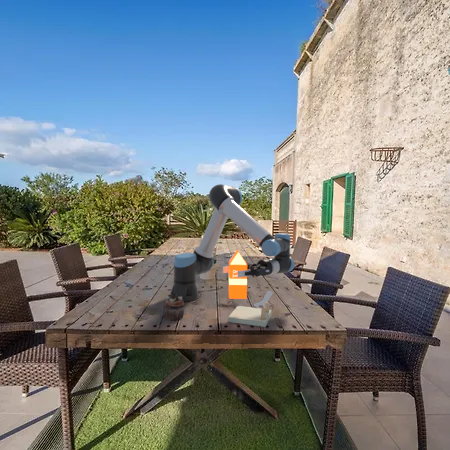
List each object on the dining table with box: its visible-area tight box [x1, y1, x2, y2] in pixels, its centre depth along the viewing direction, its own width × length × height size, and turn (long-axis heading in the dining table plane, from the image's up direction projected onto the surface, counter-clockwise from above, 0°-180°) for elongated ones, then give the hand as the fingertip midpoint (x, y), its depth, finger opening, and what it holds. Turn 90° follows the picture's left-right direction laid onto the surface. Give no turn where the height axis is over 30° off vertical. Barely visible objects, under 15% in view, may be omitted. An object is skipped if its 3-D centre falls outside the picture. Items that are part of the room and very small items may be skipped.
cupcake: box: [162, 294, 186, 321], centre depth 129 cm, size 10×10×10 cm
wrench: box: [253, 290, 274, 309], centre depth 158 cm, size 8×32×1 cm, turn 163°
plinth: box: [227, 301, 272, 328], centre depth 130 cm, size 16×16×6 cm
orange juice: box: [228, 249, 248, 300], centre depth 128 cm, size 8×9×20 cm
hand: (230, 272), depth 126 cm, fingers closed on orange juice, 10 cm apart
